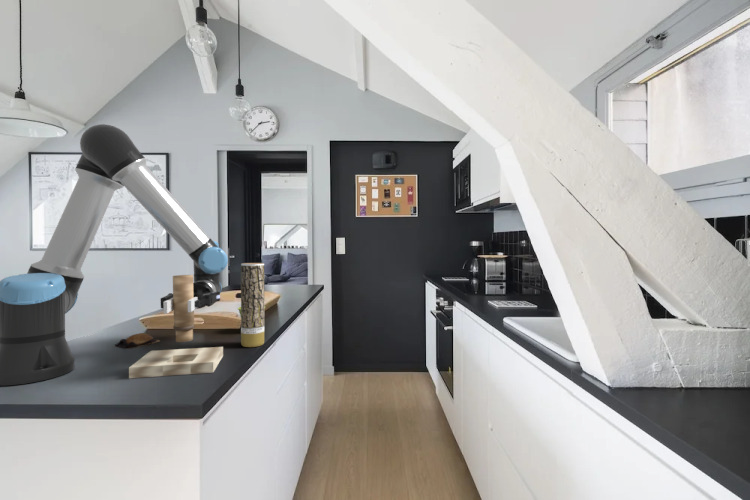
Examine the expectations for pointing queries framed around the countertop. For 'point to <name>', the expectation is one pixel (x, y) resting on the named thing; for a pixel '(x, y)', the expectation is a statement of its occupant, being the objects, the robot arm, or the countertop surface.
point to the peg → (183, 307)
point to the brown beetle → (136, 341)
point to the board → (177, 362)
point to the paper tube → (252, 304)
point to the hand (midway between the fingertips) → (177, 307)
